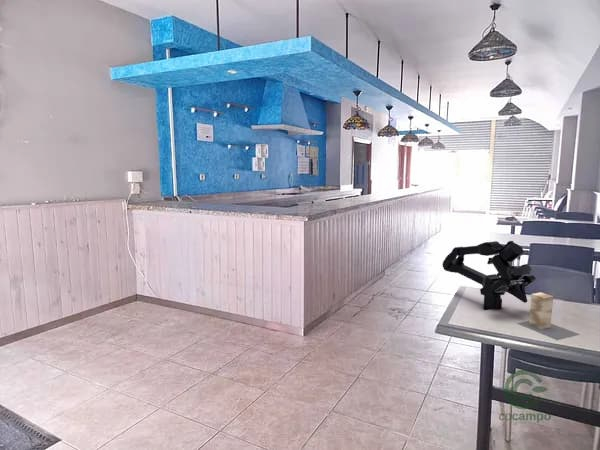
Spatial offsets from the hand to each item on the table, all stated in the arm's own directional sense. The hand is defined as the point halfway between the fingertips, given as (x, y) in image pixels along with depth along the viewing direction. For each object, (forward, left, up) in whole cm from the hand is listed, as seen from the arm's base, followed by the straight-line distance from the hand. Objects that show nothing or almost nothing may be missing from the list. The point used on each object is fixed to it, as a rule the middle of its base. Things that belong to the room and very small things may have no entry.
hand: (525, 302), depth 153 cm
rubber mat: (+7, -7, -8) cm, 12 cm away
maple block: (+5, -5, -7) cm, 10 cm away
